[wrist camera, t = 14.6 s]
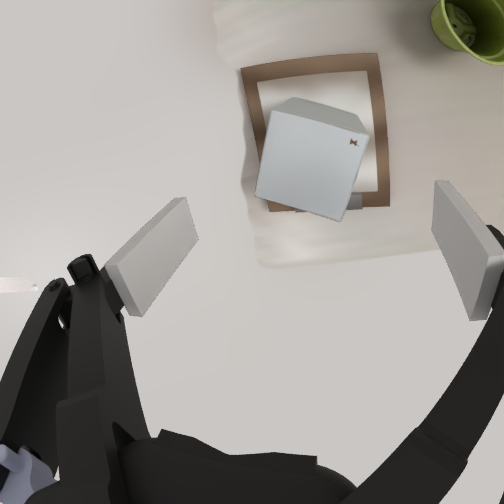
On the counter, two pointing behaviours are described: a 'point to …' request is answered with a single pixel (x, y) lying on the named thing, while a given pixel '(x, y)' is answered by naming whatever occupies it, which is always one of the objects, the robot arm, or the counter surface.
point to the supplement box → (311, 157)
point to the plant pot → (472, 27)
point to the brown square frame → (332, 94)
